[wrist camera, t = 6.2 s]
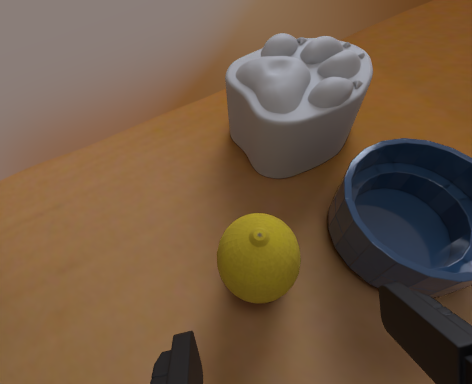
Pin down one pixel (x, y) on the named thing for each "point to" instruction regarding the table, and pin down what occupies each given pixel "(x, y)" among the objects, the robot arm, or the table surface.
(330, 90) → the paw print block
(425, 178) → the bowl
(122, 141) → the table surface
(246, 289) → the lemon
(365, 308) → the table surface
